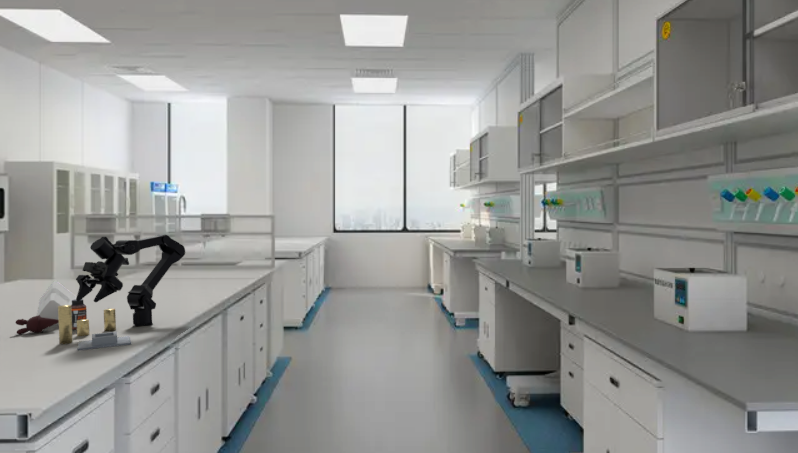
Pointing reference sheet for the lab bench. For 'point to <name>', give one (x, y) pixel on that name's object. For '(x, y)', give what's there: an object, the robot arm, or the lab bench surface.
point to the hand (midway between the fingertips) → (85, 301)
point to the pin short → (83, 327)
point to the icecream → (35, 324)
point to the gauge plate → (104, 341)
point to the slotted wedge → (54, 300)
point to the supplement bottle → (78, 312)
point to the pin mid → (109, 320)
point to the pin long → (65, 324)
